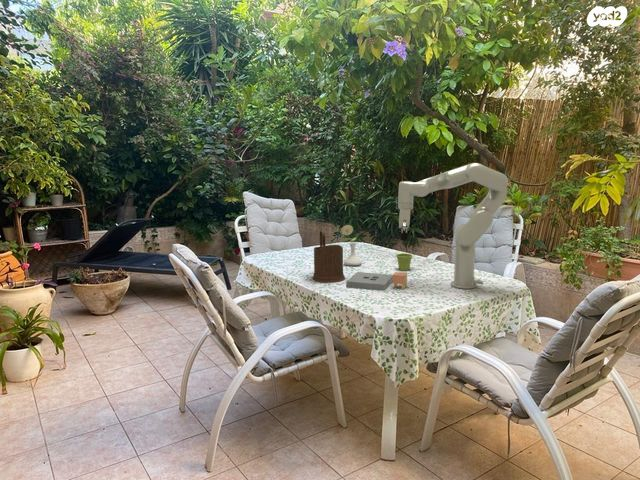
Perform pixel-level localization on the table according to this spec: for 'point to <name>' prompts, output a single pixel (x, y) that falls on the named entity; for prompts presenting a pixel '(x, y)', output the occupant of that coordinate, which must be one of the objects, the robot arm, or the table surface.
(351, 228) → the flower in vase
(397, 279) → the plug
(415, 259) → the table surface
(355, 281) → the socket
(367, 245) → the table surface
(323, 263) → the brown cylinder
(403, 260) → the plant pot
